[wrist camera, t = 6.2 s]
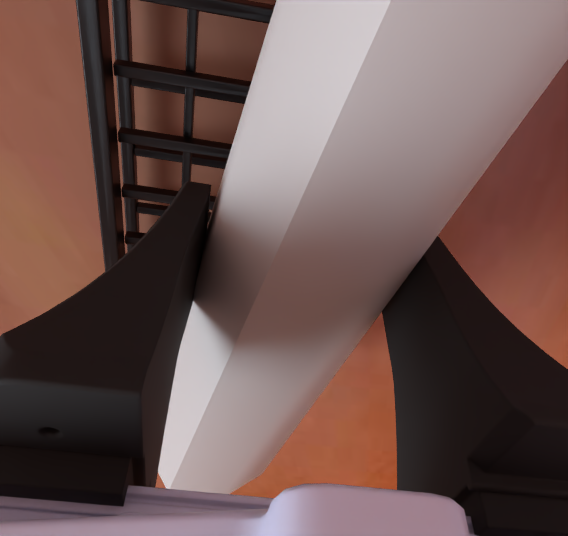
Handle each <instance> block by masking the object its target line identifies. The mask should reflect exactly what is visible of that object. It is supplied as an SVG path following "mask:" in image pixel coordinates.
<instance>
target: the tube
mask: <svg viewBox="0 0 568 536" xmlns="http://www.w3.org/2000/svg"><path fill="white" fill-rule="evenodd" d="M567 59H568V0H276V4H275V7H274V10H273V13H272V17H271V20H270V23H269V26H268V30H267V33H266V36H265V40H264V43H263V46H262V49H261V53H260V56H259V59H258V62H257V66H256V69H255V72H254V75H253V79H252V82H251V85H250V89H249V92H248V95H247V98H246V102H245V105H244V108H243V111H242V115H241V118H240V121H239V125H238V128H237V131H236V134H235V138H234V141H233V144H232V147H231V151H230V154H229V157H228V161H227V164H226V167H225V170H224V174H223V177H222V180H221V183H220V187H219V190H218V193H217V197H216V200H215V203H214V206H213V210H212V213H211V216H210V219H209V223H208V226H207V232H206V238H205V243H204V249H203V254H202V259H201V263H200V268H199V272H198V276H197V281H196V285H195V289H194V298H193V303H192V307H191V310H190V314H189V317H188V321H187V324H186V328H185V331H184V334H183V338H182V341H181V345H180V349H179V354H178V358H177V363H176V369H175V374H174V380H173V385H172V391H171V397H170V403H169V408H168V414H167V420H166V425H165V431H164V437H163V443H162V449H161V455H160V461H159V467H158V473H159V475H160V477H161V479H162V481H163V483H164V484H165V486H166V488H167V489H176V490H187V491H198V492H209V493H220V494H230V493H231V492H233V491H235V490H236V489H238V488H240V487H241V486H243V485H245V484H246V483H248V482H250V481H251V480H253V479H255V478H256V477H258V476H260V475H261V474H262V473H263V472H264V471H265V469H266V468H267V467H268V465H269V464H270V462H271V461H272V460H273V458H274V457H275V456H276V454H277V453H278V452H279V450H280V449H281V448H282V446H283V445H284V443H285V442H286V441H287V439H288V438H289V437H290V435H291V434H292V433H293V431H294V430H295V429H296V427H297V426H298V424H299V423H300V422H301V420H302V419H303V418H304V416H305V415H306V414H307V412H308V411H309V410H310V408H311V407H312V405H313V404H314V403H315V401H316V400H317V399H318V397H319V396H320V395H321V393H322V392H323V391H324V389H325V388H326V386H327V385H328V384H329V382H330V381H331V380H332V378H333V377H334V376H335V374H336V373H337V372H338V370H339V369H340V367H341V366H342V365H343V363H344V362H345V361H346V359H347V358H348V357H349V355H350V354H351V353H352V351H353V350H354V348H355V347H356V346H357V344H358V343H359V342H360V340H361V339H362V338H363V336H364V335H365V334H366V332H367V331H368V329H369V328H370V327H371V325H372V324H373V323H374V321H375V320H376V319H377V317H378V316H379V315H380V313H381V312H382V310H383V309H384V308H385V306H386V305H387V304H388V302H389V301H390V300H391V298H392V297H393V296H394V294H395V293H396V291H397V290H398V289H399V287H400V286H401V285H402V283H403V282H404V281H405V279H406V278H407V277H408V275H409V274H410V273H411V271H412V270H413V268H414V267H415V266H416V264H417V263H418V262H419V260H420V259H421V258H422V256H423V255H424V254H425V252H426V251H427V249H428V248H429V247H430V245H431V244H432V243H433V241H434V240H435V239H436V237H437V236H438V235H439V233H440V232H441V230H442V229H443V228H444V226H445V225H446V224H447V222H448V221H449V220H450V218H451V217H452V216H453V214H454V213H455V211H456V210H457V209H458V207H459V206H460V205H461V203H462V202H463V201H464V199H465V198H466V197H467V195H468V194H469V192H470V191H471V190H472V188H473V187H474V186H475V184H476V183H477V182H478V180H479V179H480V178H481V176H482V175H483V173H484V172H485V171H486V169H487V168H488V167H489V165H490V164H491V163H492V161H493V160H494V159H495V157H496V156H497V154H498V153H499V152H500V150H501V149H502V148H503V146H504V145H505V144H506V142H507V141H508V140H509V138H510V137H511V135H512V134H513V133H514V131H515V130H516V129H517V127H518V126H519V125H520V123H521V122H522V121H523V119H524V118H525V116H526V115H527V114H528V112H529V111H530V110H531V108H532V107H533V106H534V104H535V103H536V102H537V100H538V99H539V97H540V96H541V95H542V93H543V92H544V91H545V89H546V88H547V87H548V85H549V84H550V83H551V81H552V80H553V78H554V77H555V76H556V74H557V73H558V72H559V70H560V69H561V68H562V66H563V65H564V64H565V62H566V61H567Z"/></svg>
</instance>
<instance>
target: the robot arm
mask: <svg viewBox="0 0 568 536" xmlns="http://www.w3.org/2000/svg"><path fill="white" fill-rule="evenodd" d="M210 191H211V185H209V184H203V183H196V182H189V181H187V182H185V183H184V184H183V185H182V187H181V188H180V190H179V192H178V193H177V195H176V196H175V198H174V199H173V201H172V202H171V204H170V205H169V206H168V208H167V209H166V210H165V212H164V213H163V214H162V215H161V216H160V218H159V219H158V220H157V221H156V222H155V224H154V225H153V226H152V227H151V228H150V230H149V231H148V232H147V233H146V234H145V235H144V236H143V237H142V238H141V239H140V240H139V241H138V242H137V243H136V244H135V245H134V246H133V247H132V249H130V250H129V251H128V252H127V253H126V254H125V255H124V256H123V257H122V258H121V259H120V260H119V261H118V262H116V263H115V264H114V265H113V266H112V267H111V268H109V269H108V270H107V271H106V272H105V273H103V274H102V275H101V276H99V277H98V278H97V279H95V280H94V281H93V282H91V283H90V284H89V285H87V286H86V287H85V288H83V289H82V290H80V291H79V292H77V293H76V294H74V295H73V296H71V297H70V298H68V299H66V300H65V301H63V302H62V303H60V304H58V305H57V306H55V307H54V308H52V309H50V310H49V311H47V312H45V313H43V314H42V315H40V316H38V317H36V318H34V319H32V320H30V321H28V322H26V323H24V324H22V325H20V326H18V327H16V328H14V329H12V330H10V331H8V332H6V333H3V334H2V335H1V336H0V536H568V369H566V368H565V367H564V366H562V365H561V364H560V363H558V362H557V361H556V360H554V359H553V358H552V357H550V356H549V355H548V354H547V353H545V352H544V351H543V350H542V349H541V348H539V347H538V346H537V345H536V344H535V343H533V342H532V341H531V340H530V339H529V338H527V337H526V336H525V335H524V334H523V333H522V332H521V331H520V330H518V329H517V328H516V327H515V326H514V325H513V324H512V323H511V322H510V321H509V320H508V319H507V318H506V317H505V316H504V315H503V314H502V313H501V312H500V311H499V310H498V309H497V308H496V307H495V306H494V305H493V304H492V303H491V302H490V301H489V300H488V298H487V297H486V296H485V295H484V294H483V293H482V292H481V290H480V289H479V288H478V287H477V286H476V285H475V284H474V282H473V281H472V280H471V279H470V277H469V276H468V275H467V274H466V272H465V271H464V270H463V269H462V267H461V266H460V265H459V264H458V262H457V261H456V260H455V258H454V257H453V256H452V254H451V253H450V252H449V250H448V249H447V248H446V246H445V245H444V243H443V242H442V241H441V239H440V238H439V237H438V236H437V237H436V239H435V240H434V241H433V243H432V244H431V245H430V247H429V248H428V249H427V251H426V252H425V254H424V255H423V256H422V258H421V259H420V260H419V262H418V263H417V264H416V266H415V267H414V268H413V270H412V271H411V273H410V274H409V275H408V277H407V278H406V279H405V281H404V282H403V283H402V285H401V286H400V287H399V289H398V290H397V291H396V293H395V294H394V296H393V297H392V298H391V300H390V301H389V302H388V304H387V305H386V306H385V308H384V309H383V310H382V314H383V320H384V326H385V331H386V337H387V343H388V348H389V354H390V360H391V365H392V372H393V380H394V394H395V410H396V436H397V490H391V489H381V488H370V487H360V486H349V485H339V484H328V483H324V484H302V485H298V486H294V487H291V488H287V489H285V490H284V491H282V492H281V493H280V494H279V495H278V496H277V497H276V498H264V497H253V496H242V495H231V494H220V493H209V492H198V491H187V490H176V489H165V488H155V485H156V479H157V473H158V467H159V461H160V455H161V449H162V443H163V437H164V431H165V425H166V420H167V414H168V408H169V403H170V397H171V391H172V385H173V380H174V374H175V369H176V363H177V358H178V354H179V349H180V345H181V341H182V338H183V334H184V331H185V328H186V324H187V321H188V317H189V314H190V310H191V307H192V303H193V298H194V289H195V285H196V281H197V276H198V272H199V268H200V263H201V259H202V254H203V249H204V243H205V238H206V232H207V224H208V213H209V202H210Z"/></svg>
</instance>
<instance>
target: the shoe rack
mask: <svg viewBox="0 0 568 536" xmlns="http://www.w3.org/2000/svg"><path fill="white" fill-rule="evenodd" d="M140 1H146V2H151V3H157V4H162V5H168V6H174V7H179V8H185V9H188V10H187V41H186V71H185V70H179V69H173V68H167V67H161V66H155V65H150V64H144V63H138V62H133V61H132V36H131V12H130V0H112V14H113V30H114V46H115V62H114V64H113V67H114V75H115V76H116V77H117V93H118V109H119V124H120V129H119V131H118V141H119V142H121V156H122V172H123V187H122V197H124V203H125V219H126V235H125V243H126V244H127V250H128V251H129V250H130V249H132V247H133V246H134V245H135V244H136V243H137V242H138V241H139V240H140V239H141V238H142V237H143V236H144V235H145V234H146V233H140V232H139V213H143V214H151V215H158V216H161V215H162V214H163V213H164V212H165V210H166V209H167V208H168V206H163V205H156V204H149V203H142V202H138V199H139V200H146V201H153V202H160V203H167V204H171V202H172V201H173V199H174V198H175V196H176V195H177V193H178V192H179V191H174V190H167V189H160V188H154V187H147V186H140V185H137V161H136V156H142V157H149V158H156V159H162V160H169V161H176V162H182V185H183V184H184V183H185V182H187V181H189V182H191V164H195V165H202V166H209V167H215V168H222V169H225V167H226V164H227V161H228V157H229V154H230V151H231V147H232V144H228V143H221V142H215V141H208V140H202V139H196V138H193V122H194V101H195V96H199V97H205V98H212V99H218V100H224V101H230V102H236V103H242V104H245V102H246V98H247V95H248V92H249V89H250V85H251V81H245V80H239V79H233V78H227V77H221V76H215V75H209V74H203V73H197V72H196V59H197V38H198V17H199V11H202V12H207V13H213V14H218V15H224V16H229V17H235V18H241V19H246V20H252V21H257V22H263V23H268V24H269V23H270V20H271V17H272V13H273V10H274V7H275V5H270V4H265V3H259V2H254V1H248V0H140ZM76 6H77V16H78V25H79V34H80V43H81V52H82V62H83V71H84V80H85V89H86V98H87V107H88V117H89V126H90V135H91V144H92V153H93V163H94V172H95V181H96V190H97V199H98V208H99V218H100V227H101V236H102V245H103V254H104V264H105V272H106V271H107V270H108V269H109V268H111V267H112V266H113V265H114V264H115V263H116V262H118V261H119V260H120V259H121V258H122V257H123V256H124V255H125V244H124V230H123V215H122V200H121V186H120V171H119V156H118V142H117V127H116V113H115V98H114V83H113V69H112V54H111V39H110V25H109V10H108V0H76ZM134 86H138V87H144V88H150V89H156V90H163V91H169V92H175V93H181V94H185V102H184V132H183V136H176V135H170V134H163V133H157V132H151V131H144V130H138V129H135V111H134ZM215 200H216V196H210V202H209V209H210V210H213V206H214V203H215ZM211 213H212V212H209V213H208V223H209V219H210V216H211Z"/></svg>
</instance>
